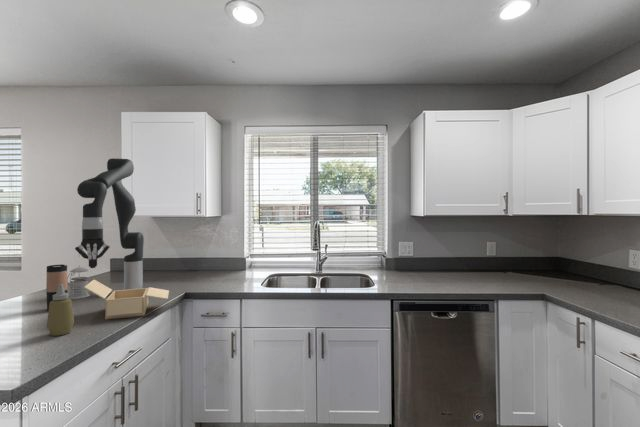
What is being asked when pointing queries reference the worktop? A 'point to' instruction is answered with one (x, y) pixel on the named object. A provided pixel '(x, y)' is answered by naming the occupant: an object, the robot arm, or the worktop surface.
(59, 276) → the travel mug
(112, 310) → the carton
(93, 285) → the flap
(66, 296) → the squeeze bottle
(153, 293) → the flap
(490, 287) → the worktop surface
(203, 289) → the worktop surface
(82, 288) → the french press
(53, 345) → the worktop surface
